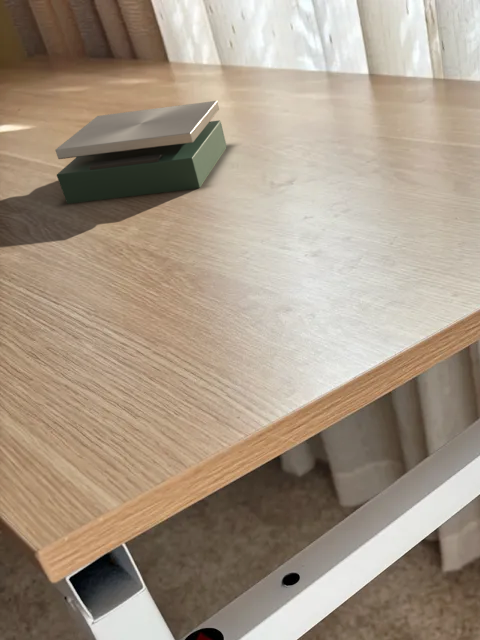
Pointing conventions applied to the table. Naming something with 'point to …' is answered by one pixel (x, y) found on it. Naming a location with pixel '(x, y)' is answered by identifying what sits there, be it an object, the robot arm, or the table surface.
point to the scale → (143, 169)
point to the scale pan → (139, 130)
